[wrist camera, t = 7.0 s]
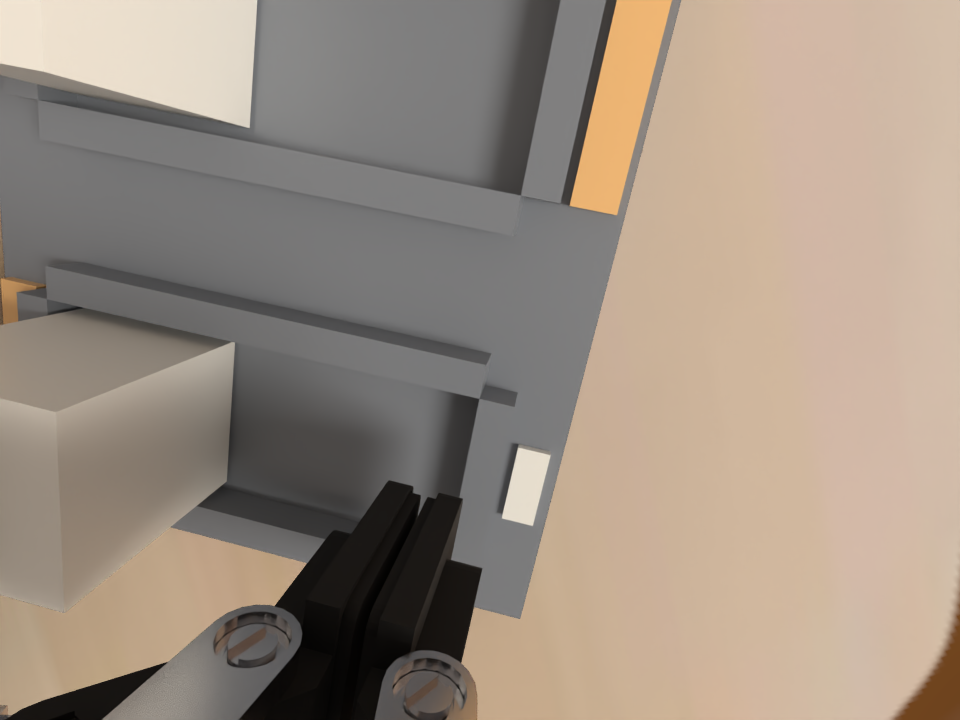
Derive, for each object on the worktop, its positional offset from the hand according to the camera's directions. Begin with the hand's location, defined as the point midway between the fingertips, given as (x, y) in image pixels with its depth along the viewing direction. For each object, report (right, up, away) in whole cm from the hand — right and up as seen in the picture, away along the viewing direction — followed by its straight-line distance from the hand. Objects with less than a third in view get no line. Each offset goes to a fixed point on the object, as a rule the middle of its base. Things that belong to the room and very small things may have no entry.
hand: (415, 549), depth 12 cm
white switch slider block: (-7, +3, +3) cm, 8 cm away
